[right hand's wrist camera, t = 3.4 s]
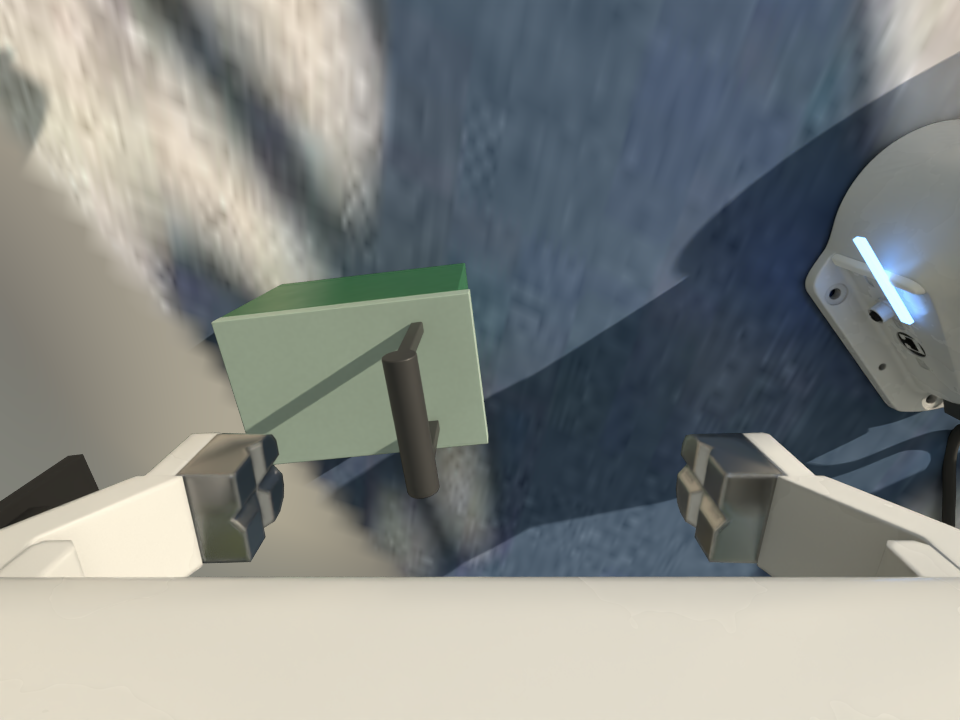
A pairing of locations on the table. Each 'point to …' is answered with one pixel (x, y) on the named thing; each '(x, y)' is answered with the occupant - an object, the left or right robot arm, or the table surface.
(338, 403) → the lid
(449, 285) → the chest
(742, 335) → the table surface
